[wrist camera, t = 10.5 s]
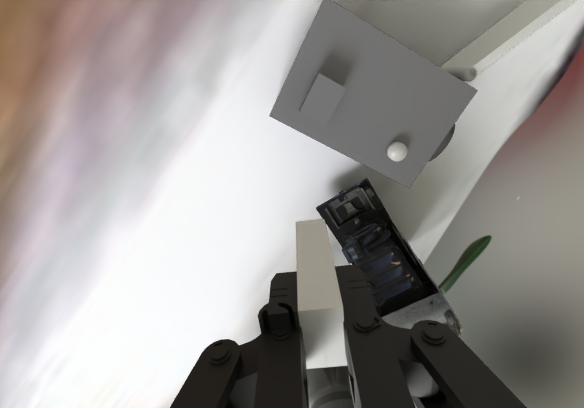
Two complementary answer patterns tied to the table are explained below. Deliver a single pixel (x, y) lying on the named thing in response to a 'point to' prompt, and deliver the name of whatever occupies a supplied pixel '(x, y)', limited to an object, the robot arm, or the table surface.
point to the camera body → (370, 96)
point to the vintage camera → (385, 260)
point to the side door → (503, 37)
